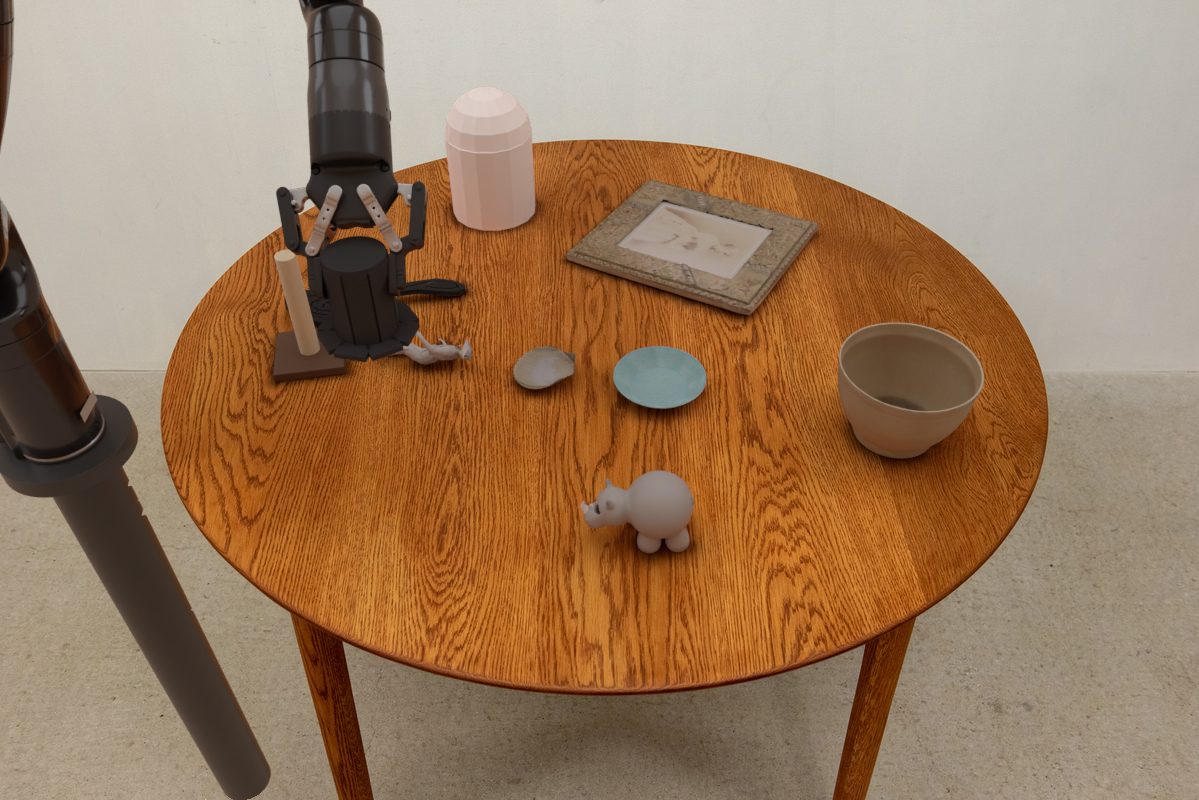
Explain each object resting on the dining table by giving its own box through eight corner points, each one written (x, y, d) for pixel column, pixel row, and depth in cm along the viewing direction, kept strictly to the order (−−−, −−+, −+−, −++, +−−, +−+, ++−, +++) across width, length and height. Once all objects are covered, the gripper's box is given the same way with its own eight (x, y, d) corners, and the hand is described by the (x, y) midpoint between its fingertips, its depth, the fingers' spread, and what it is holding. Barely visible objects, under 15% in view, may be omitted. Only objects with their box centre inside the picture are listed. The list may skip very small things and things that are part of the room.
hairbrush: (469, 290, 132) (283, 311, 126) (470, 312, 134) (288, 334, 129) (460, 259, 138) (282, 277, 132) (461, 280, 140) (286, 299, 135)
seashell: (522, 368, 127) (509, 396, 120) (518, 347, 125) (505, 374, 118) (582, 364, 125) (573, 392, 118) (579, 343, 124) (569, 370, 117)
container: (450, 191, 158) (437, 75, 144) (530, 184, 160) (523, 69, 146) (456, 234, 148) (442, 114, 135) (541, 226, 150) (535, 106, 136)
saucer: (697, 427, 116) (698, 413, 114) (603, 412, 118) (603, 398, 116) (711, 366, 124) (712, 353, 123) (623, 353, 126) (624, 340, 125)
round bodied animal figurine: (581, 509, 106) (580, 456, 100) (688, 509, 106) (693, 456, 100) (580, 560, 101) (579, 507, 95) (693, 560, 101) (698, 507, 95)
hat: (316, 367, 89) (295, 289, 83) (320, 306, 96) (301, 230, 90) (421, 356, 90) (409, 278, 84) (417, 296, 97) (406, 220, 91)
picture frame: (648, 186, 160) (648, 172, 158) (818, 231, 148) (820, 216, 146) (565, 263, 143) (565, 249, 141) (751, 321, 131) (752, 306, 129)
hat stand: (274, 382, 122) (243, 280, 111) (279, 339, 129) (249, 239, 118) (345, 373, 123) (321, 271, 113) (346, 331, 130) (323, 231, 119)
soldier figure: (398, 344, 129) (478, 326, 126) (403, 378, 129) (484, 361, 126) (369, 337, 122) (453, 318, 119) (374, 374, 121) (459, 355, 118)
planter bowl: (966, 407, 119) (990, 339, 111) (950, 496, 107) (976, 427, 100) (838, 375, 123) (853, 308, 116) (811, 458, 112) (826, 389, 105)
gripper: (260, 109, 85) (269, 294, 84) (421, 103, 86) (431, 286, 85) (282, 136, 92) (290, 307, 92) (430, 130, 93) (440, 299, 93)
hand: (358, 296), depth 88 cm, fingers closed on hat, 6 cm apart
